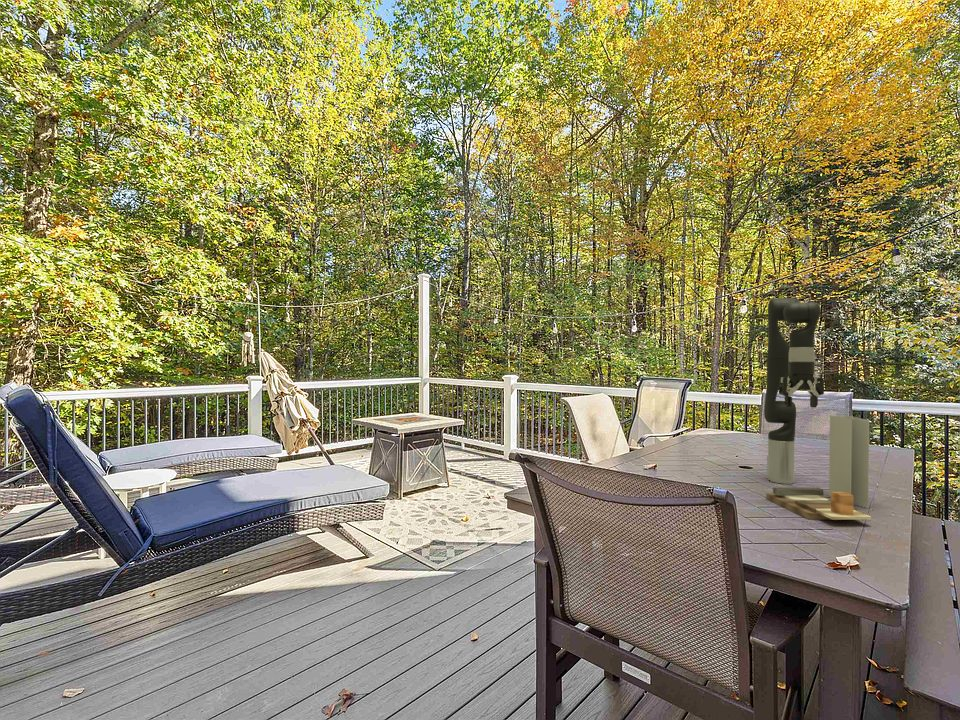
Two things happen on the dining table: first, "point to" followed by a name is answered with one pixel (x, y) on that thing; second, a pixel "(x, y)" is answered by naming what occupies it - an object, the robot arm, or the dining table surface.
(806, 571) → the dining table surface
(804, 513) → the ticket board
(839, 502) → the wooden block on base
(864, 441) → the folded green panel
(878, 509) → the dining table surface
